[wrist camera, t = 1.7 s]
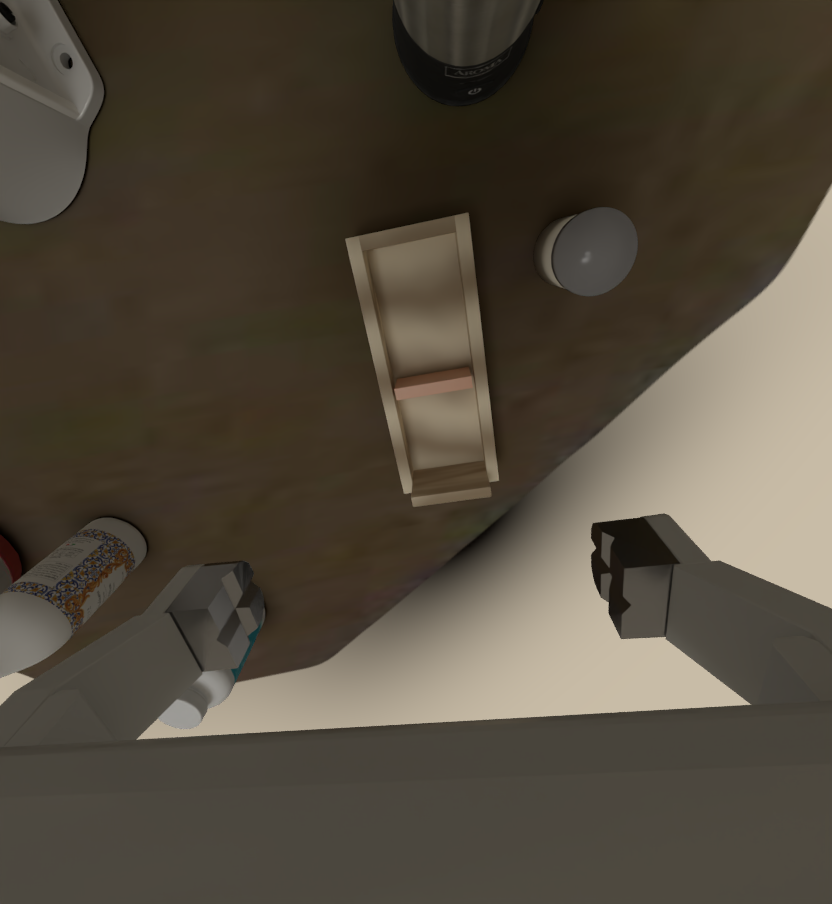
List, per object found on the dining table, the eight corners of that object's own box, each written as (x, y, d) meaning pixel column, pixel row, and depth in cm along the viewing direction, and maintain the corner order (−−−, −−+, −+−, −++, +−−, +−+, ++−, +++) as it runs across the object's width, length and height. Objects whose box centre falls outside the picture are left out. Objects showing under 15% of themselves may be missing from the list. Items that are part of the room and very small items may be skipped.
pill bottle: (272, 593, 51) (221, 702, 39) (261, 633, 54) (212, 745, 42) (211, 576, 50) (140, 682, 38) (204, 617, 53) (136, 727, 41)
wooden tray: (353, 239, 33) (337, 238, 28) (465, 215, 32) (471, 209, 27) (406, 475, 43) (402, 508, 37) (493, 463, 42) (503, 494, 36)
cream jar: (530, 222, 32) (553, 216, 26) (598, 208, 32) (639, 198, 25) (534, 292, 35) (556, 302, 28) (598, 280, 34) (636, 288, 28)
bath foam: (144, 571, 50) (-18, 752, 32) (85, 550, 49) (-118, 725, 31) (154, 529, 47) (-19, 702, 29) (91, 506, 46) (-128, 671, 28)
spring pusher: (397, 378, 37) (394, 389, 34) (468, 366, 36) (471, 376, 34) (399, 389, 37) (396, 400, 35) (470, 377, 37) (472, 387, 34)
